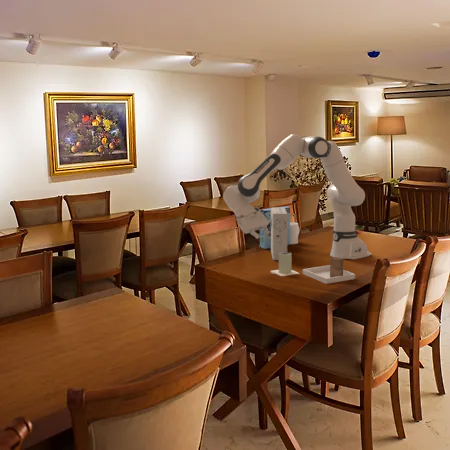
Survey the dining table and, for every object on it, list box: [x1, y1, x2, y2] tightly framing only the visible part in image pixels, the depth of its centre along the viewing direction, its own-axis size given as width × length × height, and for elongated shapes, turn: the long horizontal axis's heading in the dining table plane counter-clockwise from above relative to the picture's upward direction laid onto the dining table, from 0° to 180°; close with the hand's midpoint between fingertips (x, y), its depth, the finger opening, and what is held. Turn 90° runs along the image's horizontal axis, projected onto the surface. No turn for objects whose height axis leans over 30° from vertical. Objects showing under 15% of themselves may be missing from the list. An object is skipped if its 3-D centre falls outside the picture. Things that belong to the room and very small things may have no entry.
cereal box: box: [270, 206, 288, 261], centre depth 274 cm, size 22×8×25 cm, turn 178°
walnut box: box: [329, 257, 345, 278], centre depth 229 cm, size 4×4×9 cm
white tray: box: [302, 264, 356, 285], centre depth 232 cm, size 16×18×3 cm
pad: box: [269, 269, 300, 277], centre depth 239 cm, size 10×10×1 cm
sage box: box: [278, 251, 293, 274], centre depth 239 cm, size 4×4×9 cm
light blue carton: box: [259, 206, 291, 250], centre depth 296 cm, size 20×5×23 cm, turn 124°
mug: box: [290, 221, 300, 245], centre depth 307 cm, size 12×8×12 cm
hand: (263, 236), depth 243 cm, fingers open, 8 cm apart
